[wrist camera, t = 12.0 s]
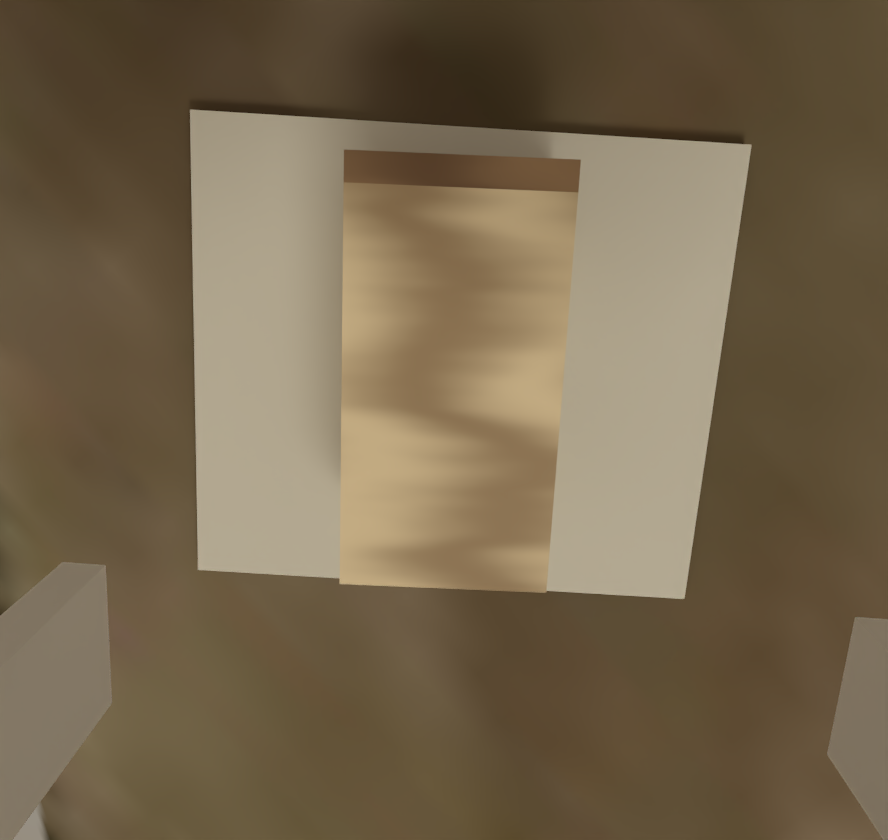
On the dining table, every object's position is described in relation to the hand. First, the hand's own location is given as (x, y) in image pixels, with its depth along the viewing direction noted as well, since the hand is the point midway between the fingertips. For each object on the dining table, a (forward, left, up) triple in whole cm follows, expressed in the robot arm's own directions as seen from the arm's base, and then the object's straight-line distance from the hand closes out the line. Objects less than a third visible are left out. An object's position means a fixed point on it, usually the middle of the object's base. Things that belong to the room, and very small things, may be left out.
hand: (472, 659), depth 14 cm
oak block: (0, +3, -12) cm, 12 cm away
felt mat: (0, -2, -16) cm, 16 cm away
